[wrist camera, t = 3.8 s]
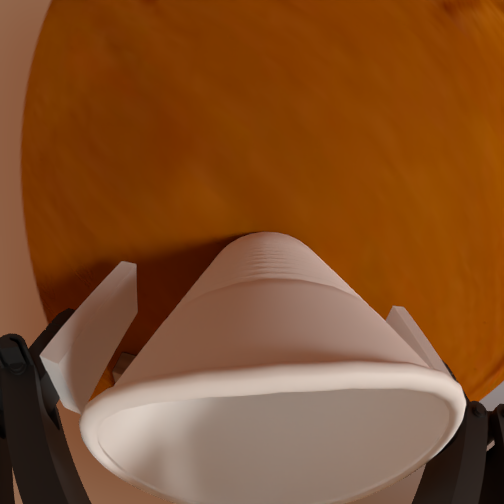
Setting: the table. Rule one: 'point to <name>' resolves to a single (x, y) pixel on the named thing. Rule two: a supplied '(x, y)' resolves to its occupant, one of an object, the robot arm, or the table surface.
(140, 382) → the cup
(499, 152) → the table surface
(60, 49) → the table surface
